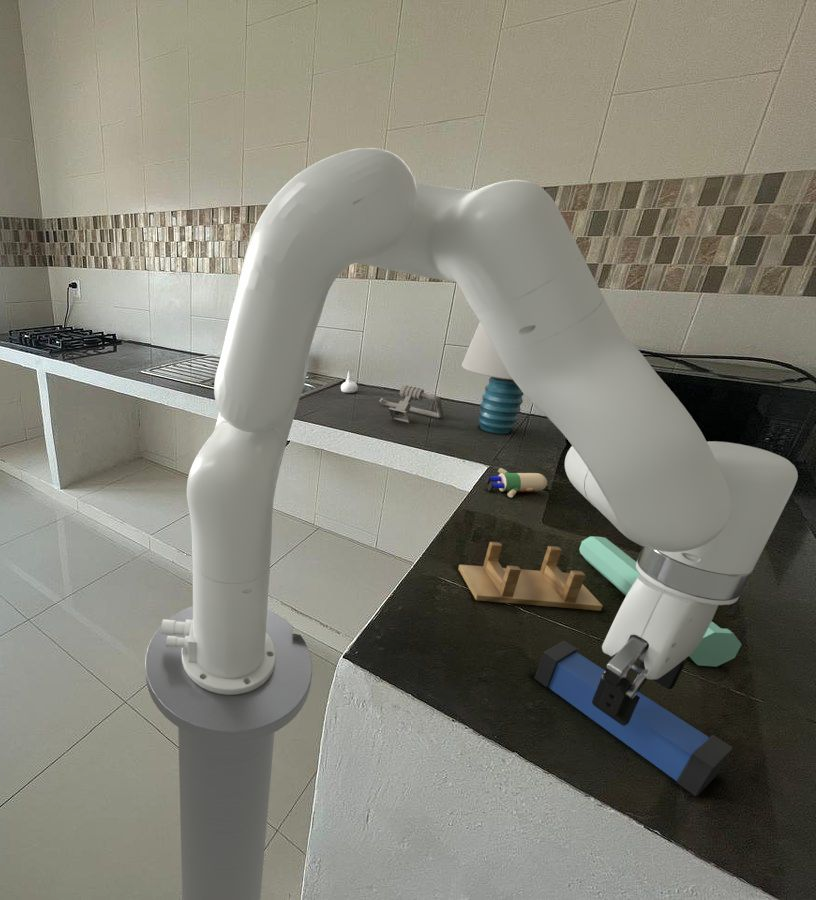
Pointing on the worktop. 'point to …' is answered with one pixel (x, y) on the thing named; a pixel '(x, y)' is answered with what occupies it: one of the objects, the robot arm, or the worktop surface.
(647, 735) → the handle
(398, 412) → the toilet paper hanger
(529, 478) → the toy figurine
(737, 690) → the worktop surface
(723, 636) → the mint octagonal rod
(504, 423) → the lamp
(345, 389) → the garlic bulb
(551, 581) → the holder
